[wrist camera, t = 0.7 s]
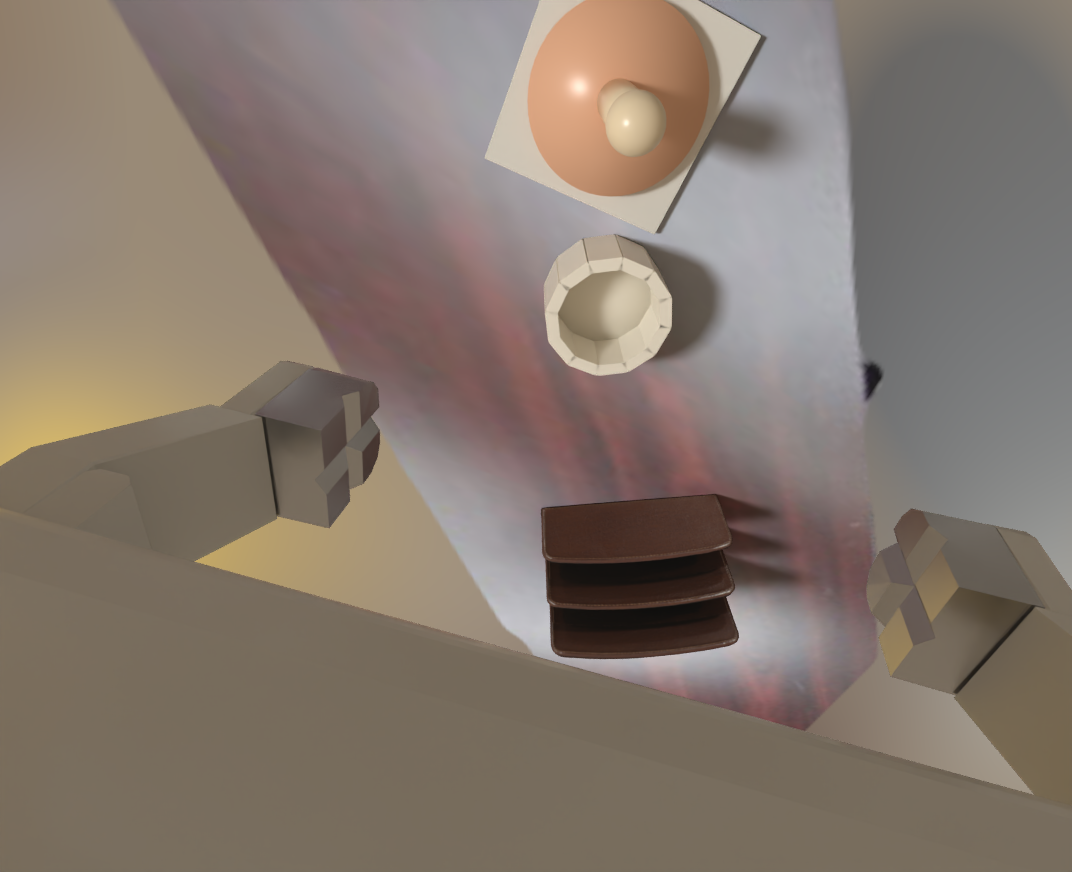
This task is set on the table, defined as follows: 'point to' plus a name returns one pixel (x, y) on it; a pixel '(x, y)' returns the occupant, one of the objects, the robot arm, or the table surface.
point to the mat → (647, 208)
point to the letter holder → (638, 578)
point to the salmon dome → (618, 94)
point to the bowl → (606, 305)
